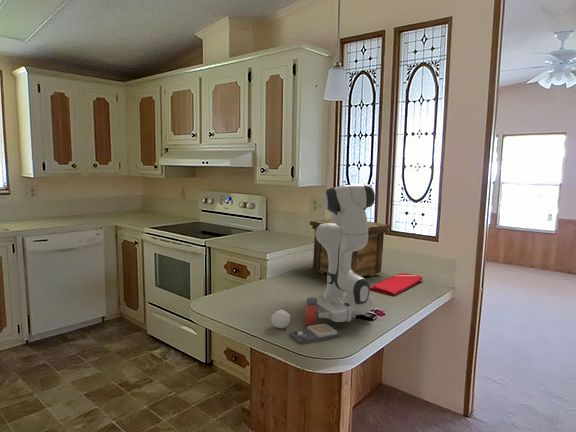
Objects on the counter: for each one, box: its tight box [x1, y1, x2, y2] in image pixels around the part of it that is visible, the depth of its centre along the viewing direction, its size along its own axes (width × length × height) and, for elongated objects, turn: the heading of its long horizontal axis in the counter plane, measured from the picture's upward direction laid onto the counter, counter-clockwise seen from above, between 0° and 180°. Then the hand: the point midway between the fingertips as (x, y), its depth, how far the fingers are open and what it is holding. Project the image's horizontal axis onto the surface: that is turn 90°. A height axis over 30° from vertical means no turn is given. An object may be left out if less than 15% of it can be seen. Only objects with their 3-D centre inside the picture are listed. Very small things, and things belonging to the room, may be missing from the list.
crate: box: [309, 218, 391, 278], centre depth 259 cm, size 35×35×33 cm
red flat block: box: [370, 272, 423, 297], centre depth 240 cm, size 16×41×4 cm, turn 141°
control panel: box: [288, 323, 343, 345], centre depth 165 cm, size 19×9×2 cm, turn 117°
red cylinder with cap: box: [304, 296, 318, 328], centre depth 174 cm, size 4×4×12 cm
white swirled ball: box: [270, 309, 291, 329], centre depth 171 cm, size 8×8×8 cm
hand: (312, 311), depth 174 cm, fingers open, 8 cm apart
